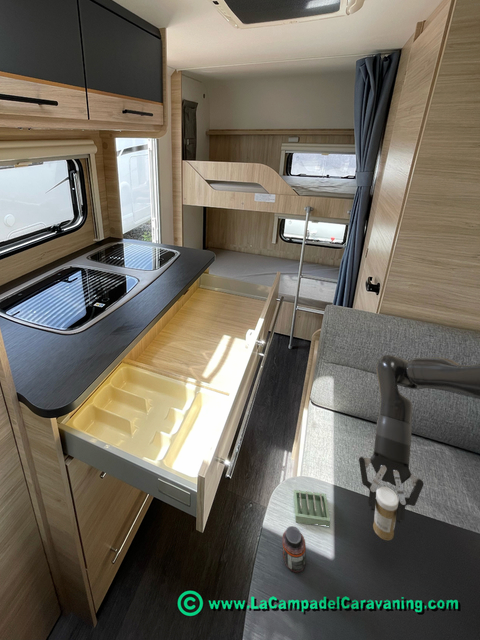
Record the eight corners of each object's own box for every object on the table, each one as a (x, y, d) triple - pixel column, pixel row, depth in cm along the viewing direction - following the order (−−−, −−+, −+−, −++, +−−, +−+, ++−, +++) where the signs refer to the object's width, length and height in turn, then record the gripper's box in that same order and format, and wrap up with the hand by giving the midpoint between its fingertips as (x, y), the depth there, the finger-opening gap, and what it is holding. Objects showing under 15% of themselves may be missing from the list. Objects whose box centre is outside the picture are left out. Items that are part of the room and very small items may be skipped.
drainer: (325, 500, 101) (325, 493, 100) (330, 527, 94) (330, 520, 93) (293, 495, 103) (293, 489, 102) (295, 522, 97) (295, 515, 96)
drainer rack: (320, 502, 100) (321, 492, 99) (323, 521, 95) (323, 511, 94) (299, 499, 102) (299, 490, 100) (300, 517, 97) (300, 508, 96)
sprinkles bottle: (397, 534, 80) (403, 498, 75) (385, 545, 78) (390, 509, 73) (380, 516, 84) (384, 481, 79) (368, 526, 82) (372, 491, 77)
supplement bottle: (282, 545, 92) (281, 519, 88) (304, 548, 90) (304, 522, 86) (283, 571, 86) (282, 545, 82) (307, 575, 85) (306, 549, 81)
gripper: (360, 427, 82) (350, 503, 77) (429, 451, 74) (423, 537, 70) (361, 426, 88) (353, 497, 83) (426, 448, 80) (420, 527, 75)
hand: (385, 514), depth 76 cm, fingers closed on sprinkles bottle, 4 cm apart
